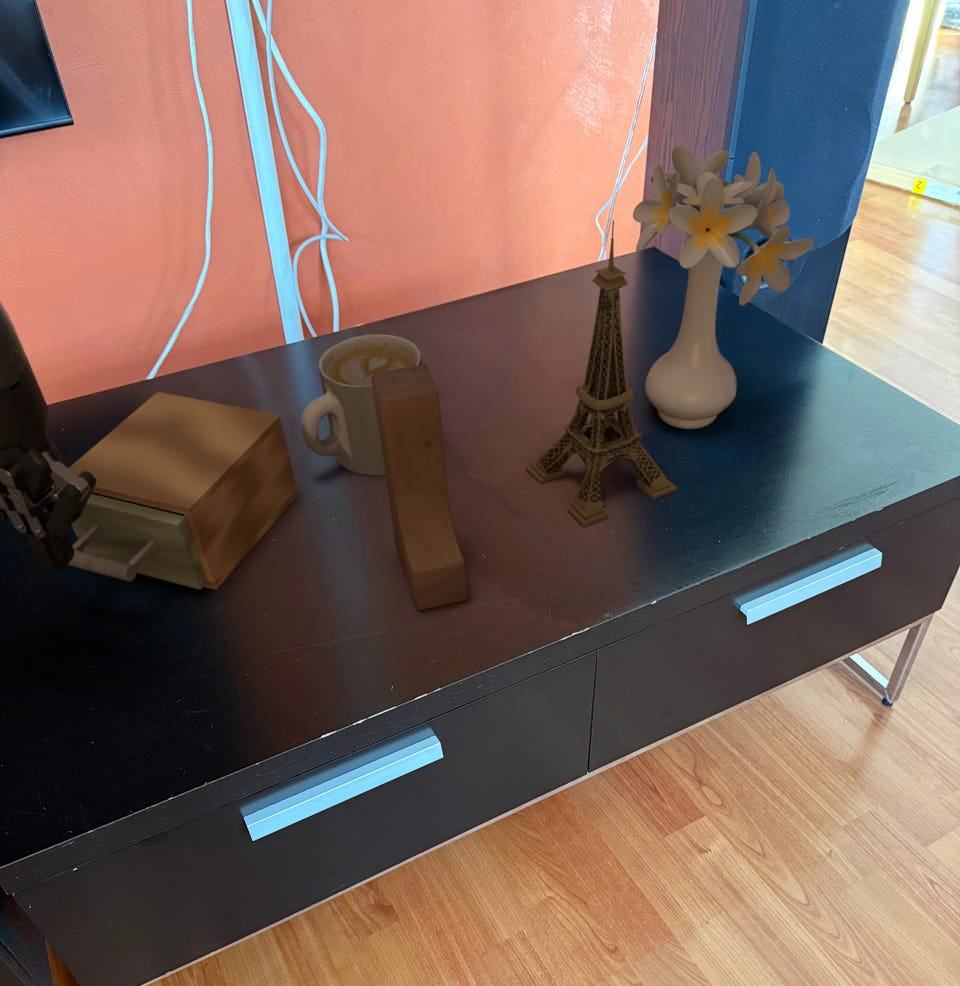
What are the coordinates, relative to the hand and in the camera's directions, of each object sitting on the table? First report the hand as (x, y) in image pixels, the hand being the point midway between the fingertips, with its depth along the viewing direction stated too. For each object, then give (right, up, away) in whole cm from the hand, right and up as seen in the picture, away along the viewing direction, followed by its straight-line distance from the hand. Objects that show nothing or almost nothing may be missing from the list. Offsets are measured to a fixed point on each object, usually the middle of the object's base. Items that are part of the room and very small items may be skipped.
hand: (59, 562), depth 75 cm
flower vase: (+56, +17, +25) cm, 64 cm away
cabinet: (+6, +5, +15) cm, 17 cm away
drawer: (+5, +3, +12) cm, 13 cm away
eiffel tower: (+45, +9, +17) cm, 49 cm away
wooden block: (+29, 0, +9) cm, 30 cm away
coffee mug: (+22, +13, +23) cm, 34 cm away
